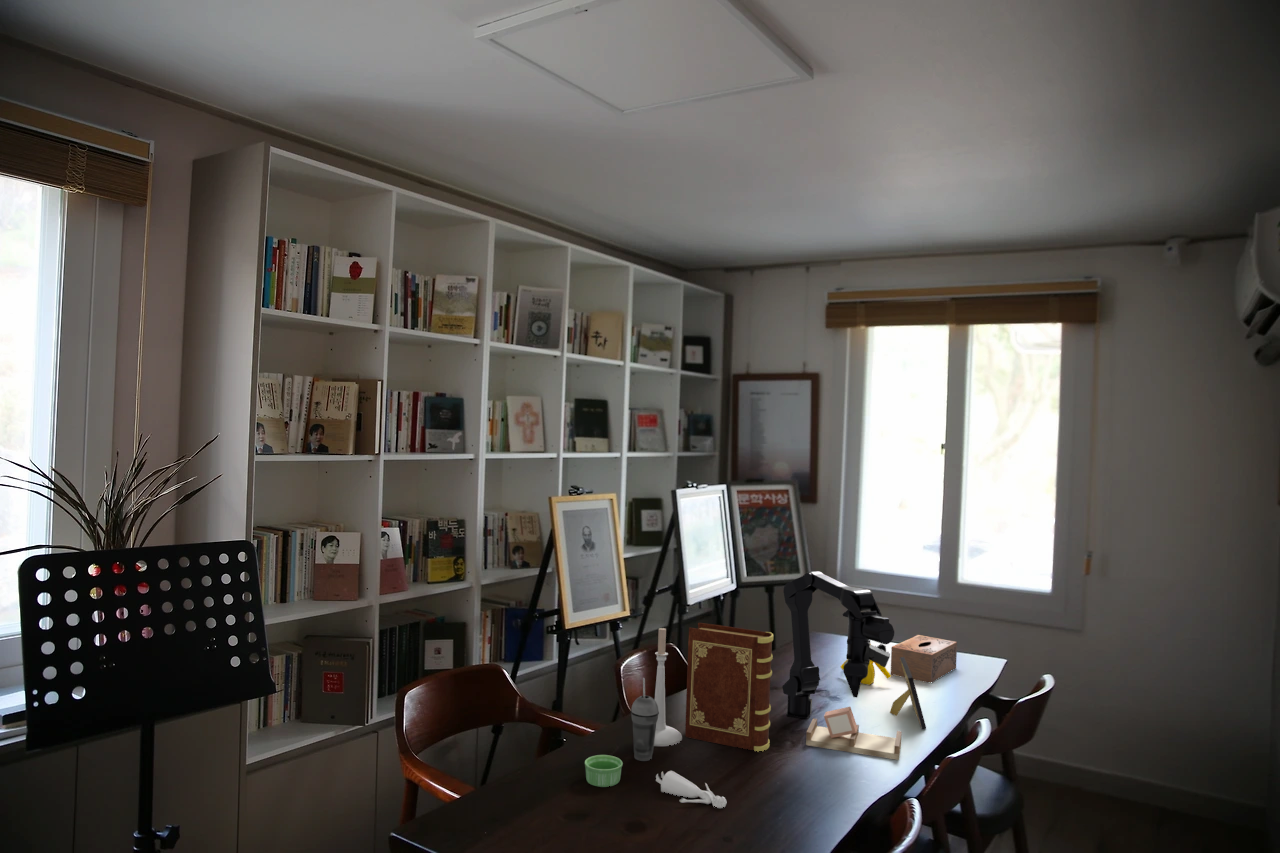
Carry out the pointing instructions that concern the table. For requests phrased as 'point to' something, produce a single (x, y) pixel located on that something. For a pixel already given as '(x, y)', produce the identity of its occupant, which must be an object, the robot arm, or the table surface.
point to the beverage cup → (644, 725)
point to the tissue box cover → (924, 657)
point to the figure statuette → (872, 672)
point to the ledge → (855, 742)
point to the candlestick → (663, 699)
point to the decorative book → (729, 686)
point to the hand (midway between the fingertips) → (856, 692)
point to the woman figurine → (688, 789)
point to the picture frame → (913, 695)
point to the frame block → (840, 722)
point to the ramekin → (603, 770)
